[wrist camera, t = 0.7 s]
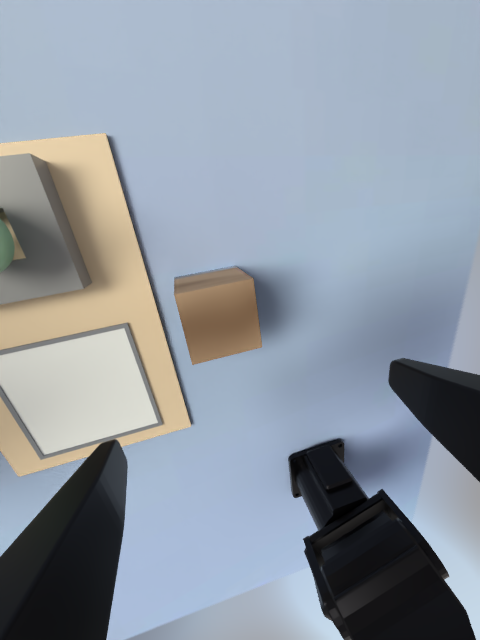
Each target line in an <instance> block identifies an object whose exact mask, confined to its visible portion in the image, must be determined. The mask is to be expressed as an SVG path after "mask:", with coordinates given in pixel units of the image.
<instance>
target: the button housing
mask: <svg viewBox="0 0 480 640" xmlns="http://www.w3.org/2000/svg"><path fill="white" fill-rule="evenodd" d="M0 212H5V214H6V216H7V218H8V220H9V223H10V225H11V227H12V229H13V231H14V233H15V235H16V238H17V240H18V242H19V244H20V246H21V248H22V250H23V253H24V255H25V257H26V258H22V259H16V260H12V262H11V263H10V265H9V266H8V267H7V268H6V269H5V270H4V271H2V272H0V305H1V304H6V303H12V302H17V301H22V300H27V299H33V298H38V297H43V296H48V295H54V294H59V293H64V292H69V291H75V290H80V289H84V288H86V287H87V286H88V285H90V284H91V283H92V281H91V278H90V276H89V273H88V271H87V268H86V265H85V263H84V260H83V258H82V255H81V252H80V250H79V247H78V244H77V242H76V239H75V237H74V234H73V231H72V229H71V226H70V223H69V221H68V218H67V216H66V213H65V210H64V208H63V205H62V202H61V200H60V197H59V195H58V192H57V189H56V187H55V184H54V182H53V179H52V176H51V174H50V171H49V168H48V166H47V163H46V161H45V160H43V159H40V158H38V157H36V156H34V155H32V154H30V153H27V154H17V155H8V156H0Z"/></svg>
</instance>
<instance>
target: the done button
mask: <svg viewBox="0 0 480 640" xmlns="http://www.w3.org/2000/svg"><path fill="white" fill-rule="evenodd" d="M14 251H15V247H14V241H13V237H12V235H11V233H10V231H9V229H8V227H7V226H6V225H5V223H4V222H3V221H2V220H1V219H0V272H2V271H4V270H5V269H6V268H7V267H8V266H9V265H10V263H11V262H12V260H13V257H14Z"/></svg>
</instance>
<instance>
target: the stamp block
mask: <svg viewBox="0 0 480 640" xmlns="http://www.w3.org/2000/svg"><path fill="white" fill-rule="evenodd" d="M174 296H175V299H176V303H177V307H178V311H179V315H180V319H181V323H182V327H183V330H184V334H185V338H186V342H187V346H188V350H189V354H190V358H191V361H192V365H194V364H198V363H202V362H206V361H210V360H213V359H217V358H221V357H225V356H229V355H233V354H237V353H241V352H245V351H249V350H253V349H257V348H261V347H262V341H261V334H260V326H259V318H258V311H257V303H256V295H255V287H254V280H253V278H252V277H250V276H249V275H248V274H246V273H245V272H243V271H242V270H240V269H239V268H237V267H236V266H231V267H226V268H221V269H215V270H210V271H205V272H200V273H195V274H190V275H185V276H179V277H174Z"/></svg>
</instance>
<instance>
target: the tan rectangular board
mask: <svg viewBox="0 0 480 640" xmlns="http://www.w3.org/2000/svg"><path fill="white" fill-rule="evenodd" d="M27 153H30V154H32V155H34V156H36V157H38V158H40V159H43V160H45V161H46V163H47V166H48V168H49V171H50V174H51V176H52V179H53V182H54V184H55V187H56V189H57V192H58V195H59V197H60V200H61V202H62V205H63V208H64V210H65V213H66V216H67V218H68V221H69V223H70V226H71V229H72V231H73V234H74V237H75V239H76V242H77V244H78V247H79V250H80V252H81V255H82V258H83V260H84V263H85V265H86V268H87V271H88V273H89V276H90V278H91V281H92V283H91V284H90V285H88V286H87V287H86V288H84V289H80V290H75V291H69V292H64V293H59V294H54V295H48V296H43V297H38V298H33V299H27V300H22V301H17V302H12V303H6V304H1V305H0V451H1V453H2V454H3V455H4V457H5V458H6V460H7V461H8V462H9V464H10V465H11V467H12V468H13V469H14V471H15V472H16V474H17V475H18V476H19V477H20V476H23V475H27V474H30V473H34V472H37V471H41V470H44V469H47V468H51V467H54V466H58V465H61V464H64V463H68V462H71V461H75V460H78V459H82V458H85V457H88V456H90V455H91V454H92V452H93V451H94V450H95V449H96V448H97V447H98V446H99V445H100V444H101V443H103V442H105V441H109V440H113V439H117V440H118V441H119V443H120V445H121V447H123V446H126V445H129V444H133V443H136V442H140V441H143V440H146V439H150V438H153V437H157V436H160V435H164V434H167V433H170V432H174V431H177V430H181V429H184V428H187V427H191V422H190V419H189V416H188V412H187V409H186V405H185V402H184V398H183V395H182V392H181V388H180V385H179V381H178V378H177V374H176V371H175V368H174V364H173V361H172V357H171V354H170V350H169V347H168V344H167V340H166V337H165V333H164V330H163V326H162V323H161V320H160V316H159V313H158V309H157V306H156V302H155V299H154V296H153V292H152V289H151V285H150V282H149V278H148V275H147V272H146V268H145V265H144V261H143V258H142V254H141V251H140V248H139V244H138V241H137V237H136V234H135V231H134V227H133V224H132V220H131V217H130V213H129V210H128V207H127V203H126V200H125V196H124V193H123V189H122V186H121V183H120V179H119V176H118V172H117V169H116V165H115V162H114V159H113V155H112V152H111V148H110V145H109V141H108V138H107V135H106V133H102V134H92V135H81V136H71V137H61V138H51V139H40V140H30V141H20V142H10V143H0V156H8V155H17V154H27ZM0 219H1V220H2V221H3V222H4V223H5V225H6V226H7V227H8V229H9V231H10V233H11V235H12V237H13V241H14V247H15V251H14V257H13V260H16V259H22V258H26V257H25V255H24V253H23V250H22V248H21V246H20V244H19V242H18V240H17V238H16V235H15V233H14V231H13V229H12V227H11V225H10V223H9V220H8V218H7V216H6V214H5V212H0Z"/></svg>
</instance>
